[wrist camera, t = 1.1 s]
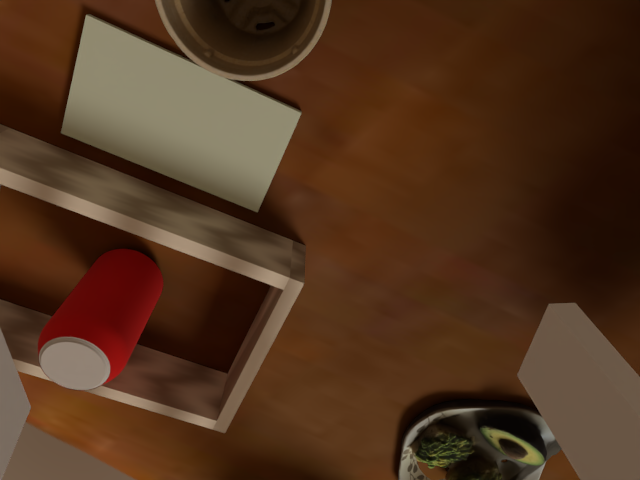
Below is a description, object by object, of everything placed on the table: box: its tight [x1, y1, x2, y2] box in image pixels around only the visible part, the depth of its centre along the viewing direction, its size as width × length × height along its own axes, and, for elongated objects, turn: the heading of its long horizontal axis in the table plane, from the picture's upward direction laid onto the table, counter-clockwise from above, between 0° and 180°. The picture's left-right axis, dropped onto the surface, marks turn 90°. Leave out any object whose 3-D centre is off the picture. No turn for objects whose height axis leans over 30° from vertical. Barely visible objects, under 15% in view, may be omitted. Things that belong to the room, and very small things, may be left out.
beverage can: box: [38, 249, 163, 390], centre depth 38 cm, size 6×6×12 cm
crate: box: [0, 124, 306, 433], centre depth 41 cm, size 26×18×6 cm
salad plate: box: [398, 399, 562, 480], centre depth 54 cm, size 19×18×5 cm
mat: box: [61, 14, 302, 213], centre depth 37 cm, size 16×9×1 cm, turn 65°
